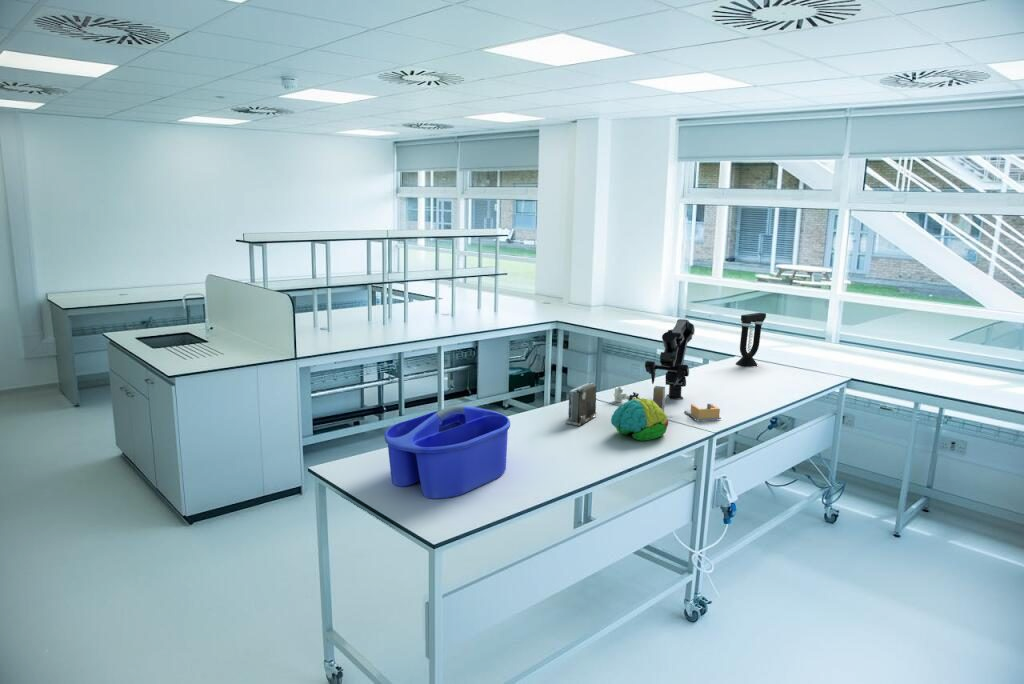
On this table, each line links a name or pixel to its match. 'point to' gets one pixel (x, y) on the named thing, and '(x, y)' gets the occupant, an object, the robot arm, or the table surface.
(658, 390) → the rectangular block
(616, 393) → the valve
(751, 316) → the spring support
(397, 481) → the caddy
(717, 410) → the keeper bracket
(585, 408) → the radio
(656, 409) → the brain model
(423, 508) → the table surface
